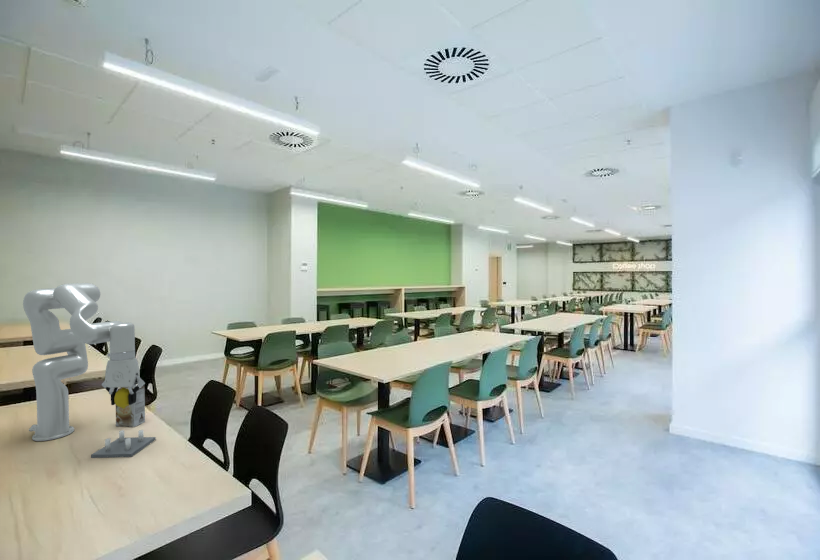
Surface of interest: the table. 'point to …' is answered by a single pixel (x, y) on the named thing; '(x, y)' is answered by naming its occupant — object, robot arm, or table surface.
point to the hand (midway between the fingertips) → (123, 403)
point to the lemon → (122, 397)
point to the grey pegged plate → (123, 446)
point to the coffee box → (132, 411)
